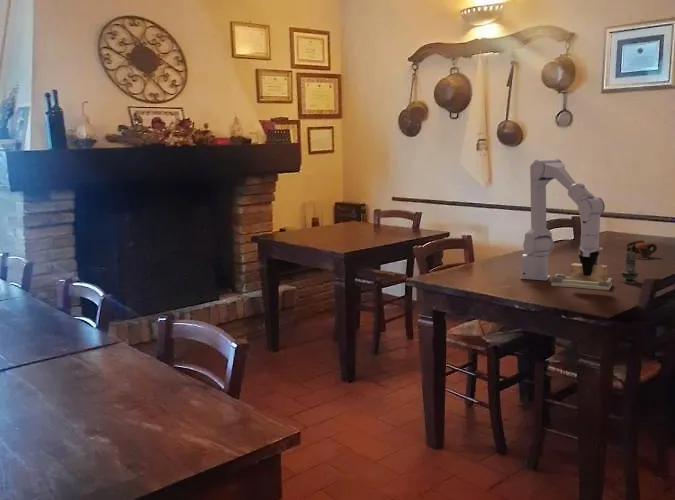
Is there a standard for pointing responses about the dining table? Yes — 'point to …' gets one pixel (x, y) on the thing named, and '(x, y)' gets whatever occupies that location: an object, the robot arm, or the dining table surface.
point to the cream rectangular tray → (580, 283)
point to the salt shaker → (630, 269)
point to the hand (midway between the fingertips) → (588, 274)
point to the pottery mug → (641, 249)
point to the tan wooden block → (597, 273)
